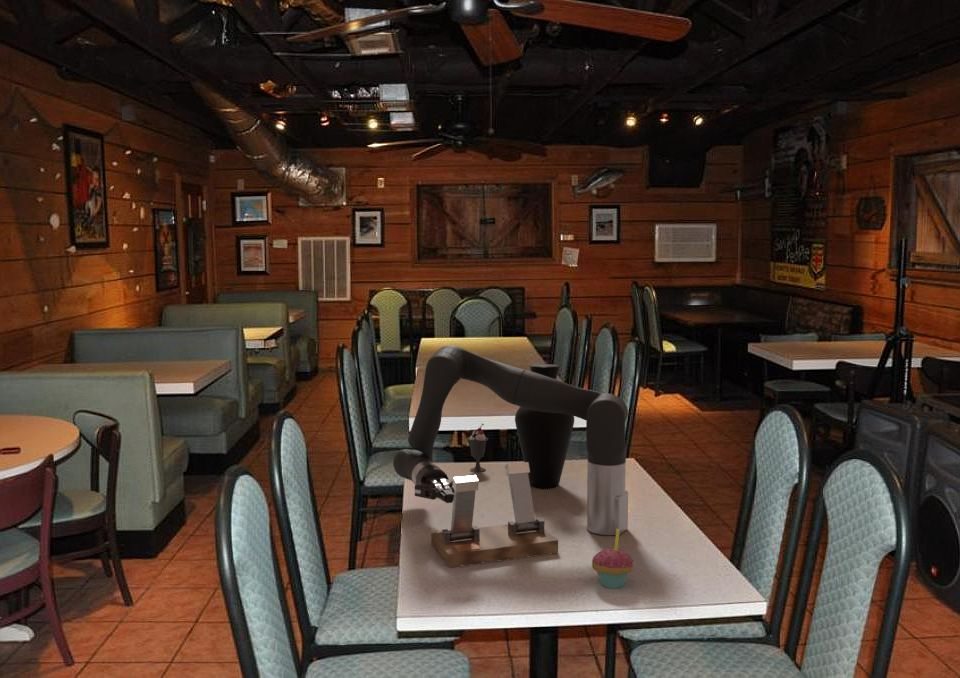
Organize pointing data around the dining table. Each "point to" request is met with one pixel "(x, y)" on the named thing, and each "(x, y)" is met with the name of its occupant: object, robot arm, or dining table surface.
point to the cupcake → (612, 565)
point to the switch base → (494, 544)
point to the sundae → (477, 447)
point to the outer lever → (463, 507)
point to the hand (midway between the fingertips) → (449, 498)
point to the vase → (544, 438)
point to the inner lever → (521, 496)
